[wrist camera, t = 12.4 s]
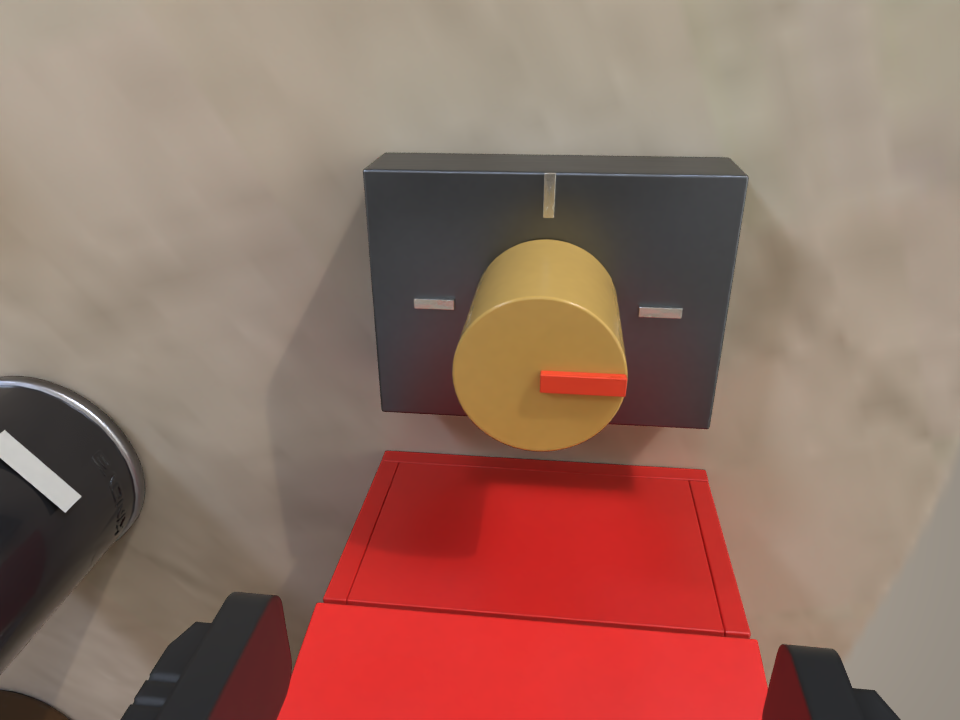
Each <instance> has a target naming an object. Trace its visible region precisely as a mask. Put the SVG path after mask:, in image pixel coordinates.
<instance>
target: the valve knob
mask: <svg viewBox="0 0 960 720" xmlns="http://www.w3.org/2000/svg"><path fill="white" fill-rule="evenodd" d="M452 376H453V384H454V388H455V392H456V395H457V398H458V400H459V403H460V404H461V406H462V408H463V410H464V411H465V413H466V414H467V415H468V417H469V418H470V419H471V421H472V422H473V423H474V424H475V425H476V426H477V427H478V428H479V429H481V430H482V431H483V432H484V433H486V434H487V435H489V436H490V437H492V438H493V439H495V440H497V441H499V442H501V443H503V444H506V445H509V446H511V447H514V448H518V449H523V450H529V451H555V450H561V449H566V448H569V447H572V446H575V445H578V444H580V443H582V442H584V441H586V440H588V439H590V438H591V437H593V436H594V435H596V434H597V433H599V432H600V431H601V430H602V429H603V428H604V427H605V426H606V425H607V424H608V423H609V422H610V421H611V420H612V419H613V417H614V416H615V414H616V413H617V411H618V410H619V408H620V406H621V404H622V402H623V398H624V397H625V396H626V387H627V378H628V370H627V363H626V356H625V349H624V342H623V335H622V328H621V321H620V314H619V308H618V301H617V294H616V290H615V287H614V284H613V282H612V279H611V277H610V275H609V274H608V272H607V271H606V269H605V268H604V267H603V265H602V264H601V263H600V262H599V261H598V260H597V259H596V258H595V257H594V256H593V255H591V254H590V253H588V252H587V251H585V250H584V249H582V248H580V247H578V246H576V245H573V244H570V243H567V242H563V241H559V240H549V239H544V240H533V241H528V242H524V243H521V244H518V245H516V246H514V247H511V248H510V249H508V250H506V251H505V252H503V253H502V254H500V255H499V256H498V257H497V258H495V260H494V261H493V262H492V263H491V264H490V265H489V266H488V267H487V269H486V270H485V272H484V273H483V275H482V277H481V279H480V281H479V284H478V287H477V290H476V293H475V296H474V298H473V301H472V304H471V307H470V310H469V313H468V316H467V319H466V322H465V325H464V328H463V330H462V333H461V336H460V339H459V342H458V345H457V348H456V351H455V354H454V359H453V368H452Z"/></svg>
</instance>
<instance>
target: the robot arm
mask: <svg viewBox="0 0 960 720" xmlns="http://www.w3.org/2000/svg"><path fill="white" fill-rule="evenodd" d="M144 497H145V481H144V475H143V471H142V467H141V464H140V462H139V459H138V457H137V454H136V453H135V451H134V449H133V447H132V445H131V444H130V442H129V441H128V439H127V437H126V436H125V435H124V434H123V432H122V431H121V430H120V428H119V427H118V426H117V425H116V424H115V423H114V422H113V421H112V420H111V419H110V418H109V417H108V416H107V415H106V414H105V413H104V412H103V411H101V410H100V409H99V408H98V407H96V406H95V405H94V404H92V403H91V402H90V401H88V400H87V399H85V398H83V397H82V396H80V395H78V394H77V393H75V392H73V391H71V390H69V389H67V388H64V387H62V386H60V385H57V384H54V383H52V382H49V381H45V380H41V379H37V378H32V377H24V376H4V377H0V675H1V674H2V673H3V672H4V670H5V669H6V668H7V667H8V666H9V665H10V663H11V662H12V661H13V660H14V659H15V658H16V656H17V655H18V654H19V653H20V652H21V651H22V649H23V648H24V647H25V646H26V645H27V644H28V642H29V641H30V640H31V639H32V638H33V637H34V635H35V634H36V633H37V632H38V631H39V630H40V628H41V627H42V626H43V625H44V624H45V623H46V621H47V620H48V619H49V618H50V617H51V616H52V614H53V613H54V612H55V611H56V610H57V609H58V607H59V606H60V605H61V604H62V603H63V602H64V600H65V599H66V598H67V597H68V596H69V594H70V593H71V592H72V591H73V590H74V589H75V587H76V586H77V585H78V584H79V583H80V582H81V580H82V579H83V578H84V577H85V576H86V575H87V574H88V572H89V571H90V570H91V569H92V568H93V566H94V565H95V564H96V563H97V562H98V561H99V559H100V558H101V557H102V556H103V555H104V553H105V552H106V551H107V550H108V549H109V547H110V546H111V545H112V544H113V543H114V542H115V541H117V540H118V539H119V538H120V537H122V536H123V535H124V534H125V532H126V531H127V530H128V529H129V528H130V527H131V525H132V524H133V523H134V522H135V521H136V519H137V517H138V516H139V514H140V512H141V509H142V506H143V503H144ZM291 669H292V661H291V654H290V648H289V642H288V636H287V630H286V624H285V618H284V612H283V607H282V602H281V599H280V598H279V597H278V596H275V595H264V594H253V593H243V592H233V593H231V594H230V595H229V596H228V597H227V599H226V600H225V602H224V603H223V605H222V607H221V608H220V610H219V612H218V613H217V615H216V617H215V618H214V620H213V622H212V623H203V622H195V623H194V624H193V625H192V626H191V627H189V628H188V629H187V630H186V631H185V632H184V633H182V634H181V635H180V636H179V637H178V638H177V639H175V640H174V641H173V642H172V643H171V644H170V645H168V647H167V648H166V650H165V651H164V653H163V654H162V656H161V658H160V659H159V661H158V662H157V664H156V665H155V667H154V669H153V670H152V672H151V673H150V678H149V680H146V681H145V683H144V684H143V686H142V687H141V689H140V690H139V692H138V693H137V695H136V697H135V698H134V703H133V705H131V704H130V706H129V707H128V709H127V711H126V712H125V714H124V715H123V717H122V718H121V720H277V717H278V715H279V713H280V710H281V708H282V706H283V703H284V701H285V698H286V695H287V692H288V688H289V684H290V678H291ZM762 720H900V719H899V717H898V716H897V715H896V714H895V713H894V712H893V711H892V709H891V708H890V707H889V706H888V705H887V704H886V703H885V701H883V699H882V698H881V697H880V696H879V695H878V694H877V692H876V691H875V690H866V689H855V688H852V686H851V683H850V681H849V678H848V676H847V673H846V671H845V668H844V666H843V663H842V661H841V658H840V656H839V655H838V653H837V652H836V651H835V650H834V649H828V648H818V647H807V646H796V645H785V644H782V645H781V646H780V647H779V649H778V652H777V656H776V660H775V664H774V668H773V672H772V676H771V680H770V684H769V688H768V692H767V696H766V700H765V704H764V708H763V714H762Z"/></svg>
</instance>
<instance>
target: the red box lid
mask: <svg viewBox="0 0 960 720" xmlns="http://www.w3.org/2000/svg"><path fill="white" fill-rule="evenodd" d="M767 692H768V687H767V682H766V678H765V673H764V669H763V664H762V659H761V655H760V650H759V646H758V642H757V640H755V639H744V638H732V637H720V636H708V635H697V634H685V633H673V632H661V631H649V630H637V629H626V628H614V627H602V626H590V625H578V624H566V623H555V622H543V621H531V620H519V619H507V618H495V617H484V616H472V615H460V614H448V613H436V612H424V611H413V610H401V609H389V608H377V607H365V606H353V605H342V604H330V603H317V604H316V606H315V609H314V612H313V615H312V617H311V620H310V623H309V626H308V629H307V632H306V635H305V638H304V640H303V643H302V646H301V649H300V652H299V655H298V658H297V661H296V663H295V666H294V669H293V672H292V675H291V678H290V684H289V688H288V692H287V695H286V698H285V701H284V703H283V706H282V708H281V710H280V713H279V715H278V717H277V720H762V714H763V708H764V704H765V700H766V696H767Z"/></svg>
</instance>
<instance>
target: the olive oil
mask: <svg viewBox="0 0 960 720" xmlns="http://www.w3.org/2000/svg"><path fill="white" fill-rule="evenodd" d="M0 720H70V719H68V718H67V717H66V716H65V715H63V714H62V713H60V712H59V711H57V710H56V709H54V708H52V707H51V706H49V705H47V704H45V703H43V702H41V701H38V700H36V699H34V698H31V697H28V696H25V695H22V694H18V693H14V692H9V691H3V690H0Z"/></svg>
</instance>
